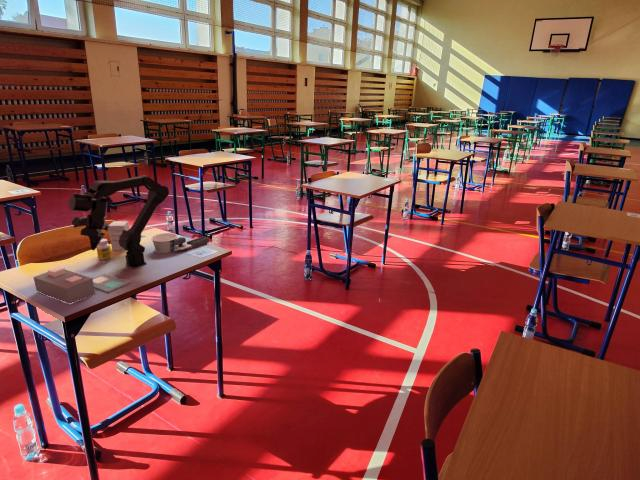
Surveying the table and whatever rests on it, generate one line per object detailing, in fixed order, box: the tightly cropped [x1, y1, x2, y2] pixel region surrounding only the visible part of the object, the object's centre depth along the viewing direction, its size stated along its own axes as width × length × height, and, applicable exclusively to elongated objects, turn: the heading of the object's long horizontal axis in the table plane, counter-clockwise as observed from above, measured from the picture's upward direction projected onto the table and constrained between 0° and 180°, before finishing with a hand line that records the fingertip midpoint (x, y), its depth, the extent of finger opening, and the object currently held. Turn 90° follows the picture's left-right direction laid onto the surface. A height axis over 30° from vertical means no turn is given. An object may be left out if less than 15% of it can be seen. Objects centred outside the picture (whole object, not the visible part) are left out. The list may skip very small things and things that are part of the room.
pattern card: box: [91, 273, 132, 294], centre depth 167 cm, size 10×16×1 cm, turn 62°
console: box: [33, 269, 96, 303], centre depth 158 cm, size 10×20×6 cm, turn 62°
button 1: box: [47, 266, 66, 277], centre depth 160 cm, size 4×4×4 cm
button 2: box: [65, 276, 82, 283], centre depth 156 cm, size 4×4×4 cm
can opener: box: [174, 235, 210, 251], centre depth 206 cm, size 19×5×6 cm, turn 145°
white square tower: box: [108, 220, 130, 251], centre depth 203 cm, size 7×7×13 cm
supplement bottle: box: [96, 238, 113, 263], centre depth 188 cm, size 5×5×10 cm
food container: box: [150, 232, 178, 254], centre depth 202 cm, size 12×12×6 cm
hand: (93, 250), depth 170 cm, fingers closed
